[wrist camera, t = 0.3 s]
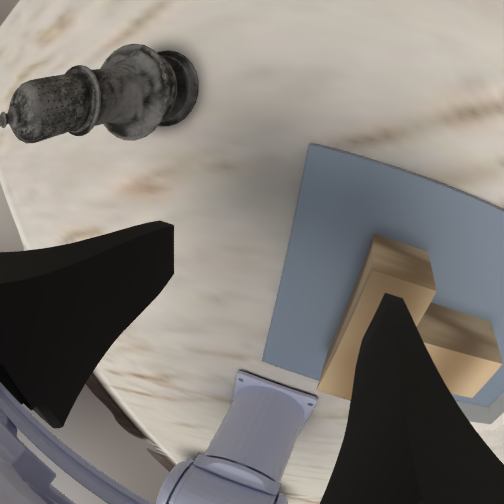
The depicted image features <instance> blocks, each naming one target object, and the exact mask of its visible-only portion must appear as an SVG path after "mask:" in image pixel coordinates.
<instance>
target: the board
mask: <svg viewBox="0 0 504 504" xmlns="http://www.w3.org/2000/svg"><path fill="white" fill-rule="evenodd" d="M374 234H376V235H379V236H382V237H385V238H388V239H391V240H394V241H397V242H400V243H403V244H406V245H409V246H412V247H415V248H418V249H421V250H424V251H427V252H428V254H429V259H430V263H431V267H432V271H433V276H434V281H435V285H436V290H437V292H436V293H435V295H434V297H433V299H432V301H431V303H434V304H437V305H440V306H444V307H447V308H450V309H453V310H456V311H459V312H462V313H465V314H468V315H471V316H474V317H478V318H481V319H484V320H487V321H490V322H491V324H492V327H493V330H494V334H495V337H496V340H497V344H498V348H499V351H500V355H501V359H502V363H503V364H502V365H501V367H500V368H499V369H498V370H497V371H496V373H495V374H494V375H493V376H492V377H491V378H490V379H489V381H488V382H487V383H486V384H485V385H484V386H483V387H482V388H481V389H480V390H479V391H478V392H477V394H476V395H475V396H474V397H473V398H470V397H465V396H460V395H455V394H452V396H453V397H454V399H455V401H459V402H464V403H469V404H474V405H480V406H485V407H489V406H490V405H491V404H492V403H493V402H494V401H495V400H496V399H497V398H498V397H499V396H500V395H501V394H502V393H503V392H504V209H502V208H500V207H497V206H495V205H493V204H491V203H489V202H486V201H484V200H482V199H479V198H477V197H475V196H472V195H470V194H468V193H465V192H463V191H460V190H458V189H455V188H453V187H450V186H448V185H445V184H443V183H440V182H437V181H435V180H432V179H429V178H427V177H424V176H421V175H418V174H415V173H413V172H410V171H407V170H404V169H401V168H398V167H395V166H392V165H389V164H386V163H382V162H379V161H376V160H373V159H369V158H366V157H363V156H359V155H356V154H352V153H349V152H345V151H341V150H338V149H334V148H330V147H326V146H322V145H318V144H314V143H310V144H309V147H308V152H307V157H306V163H305V168H304V173H303V178H302V183H301V188H300V193H299V198H298V203H297V208H296V213H295V217H294V222H293V227H292V232H291V236H290V241H289V246H288V250H287V255H286V259H285V264H284V268H283V273H282V277H281V282H280V286H279V291H278V295H277V299H276V304H275V308H274V312H273V317H272V321H271V325H270V329H269V333H268V337H267V342H266V346H265V350H264V354H263V358H262V361H263V362H266V363H269V364H271V365H274V366H277V367H280V368H283V369H286V370H288V371H291V372H294V373H297V374H300V375H303V376H306V377H309V378H313V379H316V380H320V377H321V373H322V370H323V366H324V363H325V359H326V356H327V352H328V349H329V347H330V344H331V342H332V340H333V338H334V335H335V333H336V331H337V328H338V326H339V324H340V321H341V319H342V317H343V314H344V312H345V310H346V307H347V305H348V302H349V300H350V297H351V295H352V292H353V290H354V287H355V285H356V282H357V279H358V277H359V274H360V271H361V269H362V266H363V263H364V261H365V258H366V255H367V252H368V250H369V247H370V244H371V241H372V238H373V235H374Z"/></svg>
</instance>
